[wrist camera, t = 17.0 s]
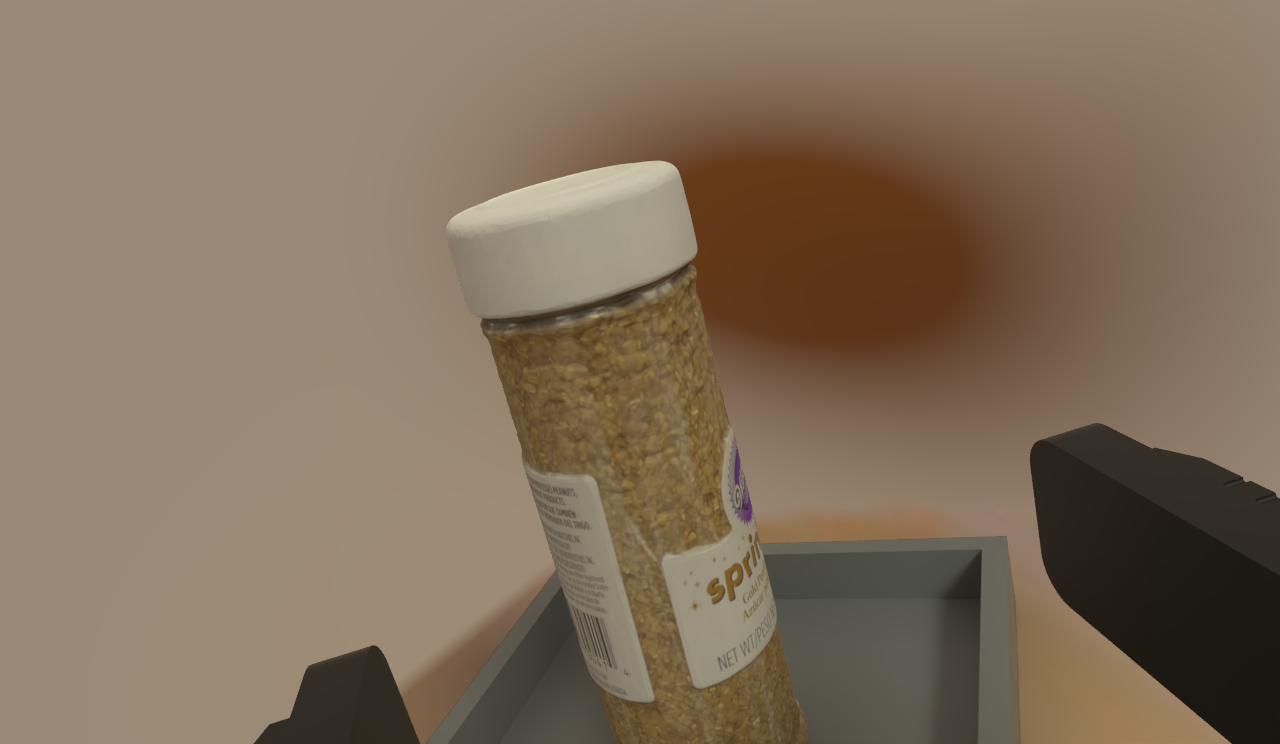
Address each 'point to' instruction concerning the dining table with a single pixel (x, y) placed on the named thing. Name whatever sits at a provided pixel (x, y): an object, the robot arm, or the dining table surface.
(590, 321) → the sprinkles bottle
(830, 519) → the dining table surface
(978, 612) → the condiment tray
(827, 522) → the dining table surface
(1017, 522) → the dining table surface
